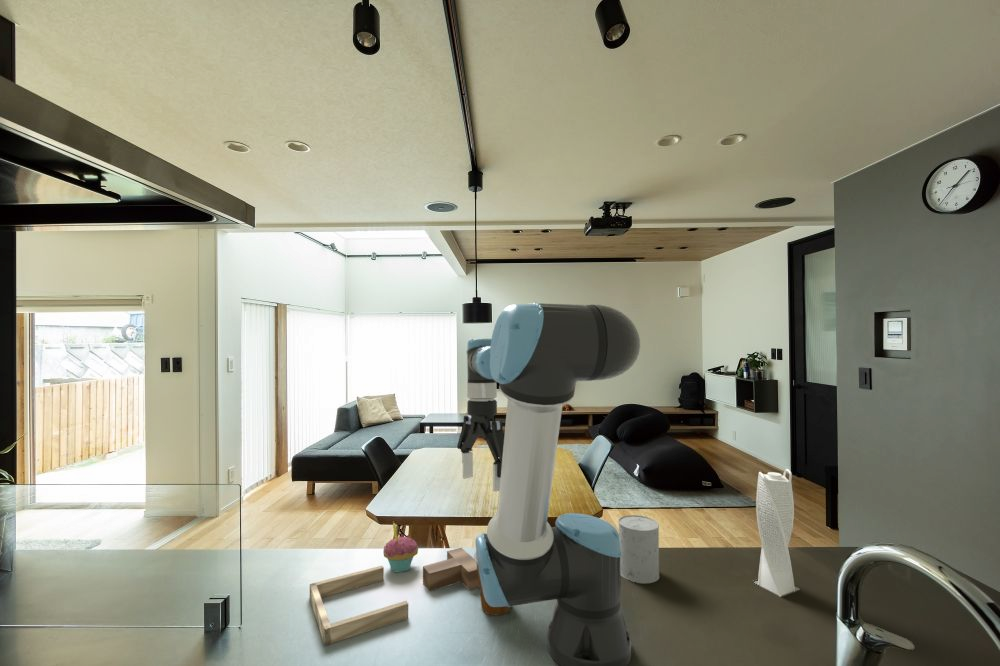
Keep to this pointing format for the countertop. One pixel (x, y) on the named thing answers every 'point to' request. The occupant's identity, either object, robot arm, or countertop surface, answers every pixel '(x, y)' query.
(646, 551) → the white marble cylinder
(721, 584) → the countertop surface
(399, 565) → the cupcake
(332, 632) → the bay
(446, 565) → the t block
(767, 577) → the skyscraper
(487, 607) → the disposable coffee cup
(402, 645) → the countertop surface
